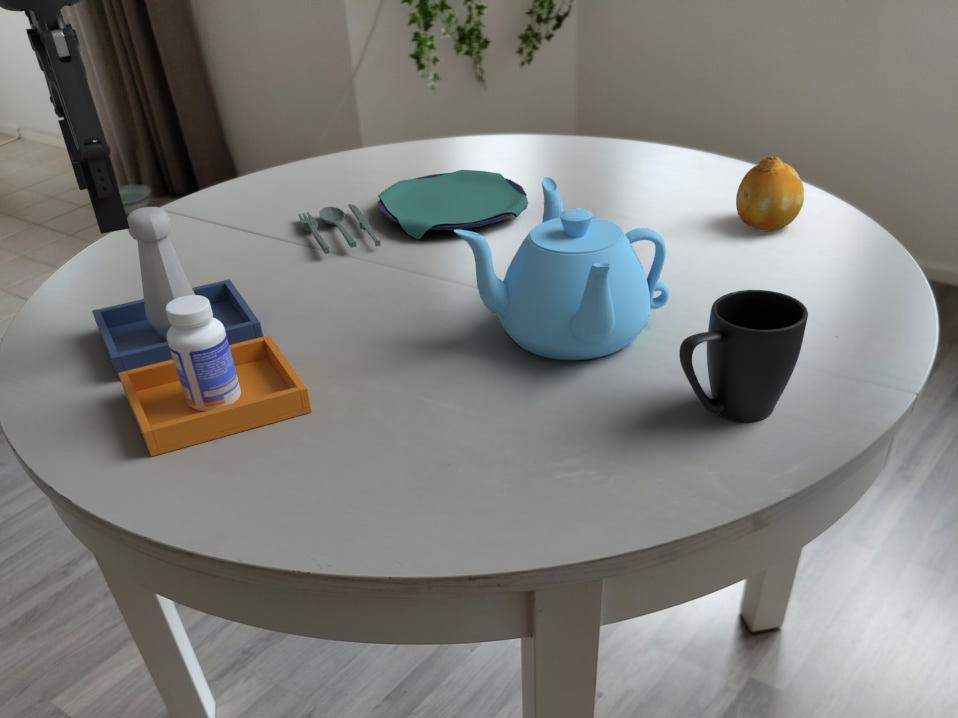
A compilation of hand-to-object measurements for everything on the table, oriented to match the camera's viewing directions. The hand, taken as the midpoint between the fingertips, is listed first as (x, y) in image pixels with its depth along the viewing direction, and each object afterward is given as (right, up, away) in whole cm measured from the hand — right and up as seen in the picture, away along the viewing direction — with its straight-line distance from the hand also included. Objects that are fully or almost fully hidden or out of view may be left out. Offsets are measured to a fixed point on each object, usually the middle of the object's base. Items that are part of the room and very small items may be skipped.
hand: (103, 207), depth 95 cm
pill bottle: (+12, -20, -2) cm, 24 cm away
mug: (+61, -23, -7) cm, 66 cm away
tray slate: (+5, -11, +8) cm, 14 cm away
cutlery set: (+30, +12, +30) cm, 44 cm away
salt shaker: (+5, -10, +8) cm, 14 cm away
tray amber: (+12, -20, -2) cm, 24 cm away
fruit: (+74, +9, +24) cm, 79 cm away
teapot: (+47, -11, +6) cm, 49 cm away
